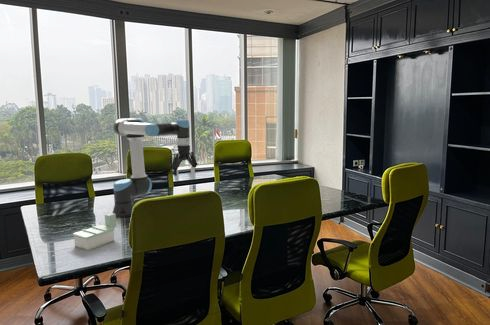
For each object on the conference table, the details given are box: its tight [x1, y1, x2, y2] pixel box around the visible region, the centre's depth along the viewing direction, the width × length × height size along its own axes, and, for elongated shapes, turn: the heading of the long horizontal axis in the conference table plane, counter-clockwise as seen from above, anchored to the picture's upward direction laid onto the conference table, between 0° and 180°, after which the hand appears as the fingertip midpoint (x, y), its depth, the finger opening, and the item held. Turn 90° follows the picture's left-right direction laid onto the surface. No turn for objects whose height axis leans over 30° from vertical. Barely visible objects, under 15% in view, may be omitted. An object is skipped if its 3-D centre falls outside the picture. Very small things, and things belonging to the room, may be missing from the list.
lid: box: [72, 212, 117, 240], centre depth 197 cm, size 12×21×8 cm, turn 146°
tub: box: [73, 230, 115, 252], centre depth 196 cm, size 11×16×6 cm
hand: (185, 178), depth 229 cm, fingers open, 13 cm apart
